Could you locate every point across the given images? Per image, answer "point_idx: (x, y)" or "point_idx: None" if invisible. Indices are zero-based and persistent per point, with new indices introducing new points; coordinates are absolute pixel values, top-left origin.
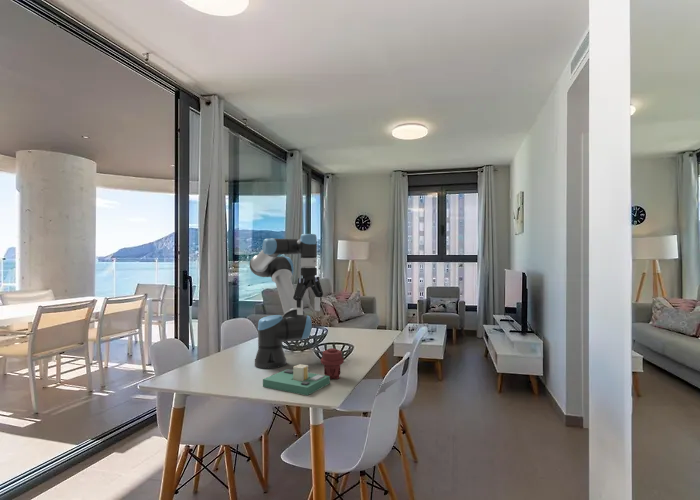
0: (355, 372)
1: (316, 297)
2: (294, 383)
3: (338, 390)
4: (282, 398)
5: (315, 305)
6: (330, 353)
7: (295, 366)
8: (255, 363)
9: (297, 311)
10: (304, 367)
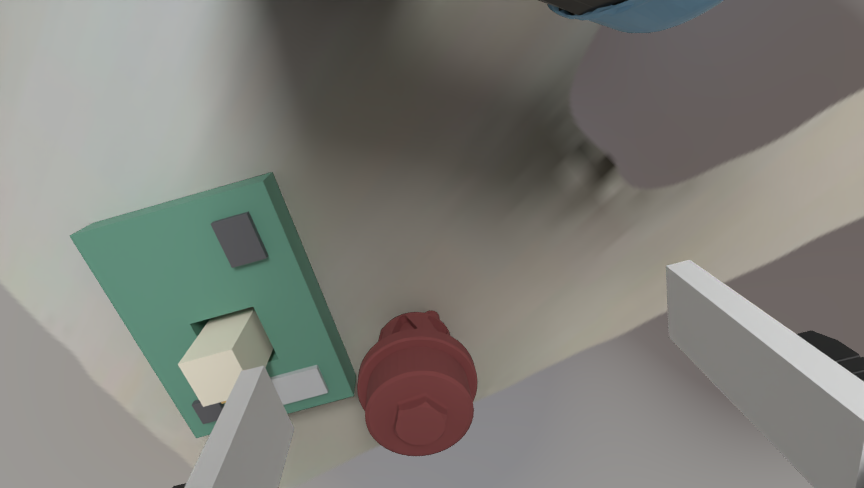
0: (535, 345)
1: (854, 465)
2: (177, 375)
3: (329, 442)
4: (113, 383)
5: (719, 325)
6: (384, 437)
7: (191, 366)
8: None
9: (228, 409)
10: (223, 400)
